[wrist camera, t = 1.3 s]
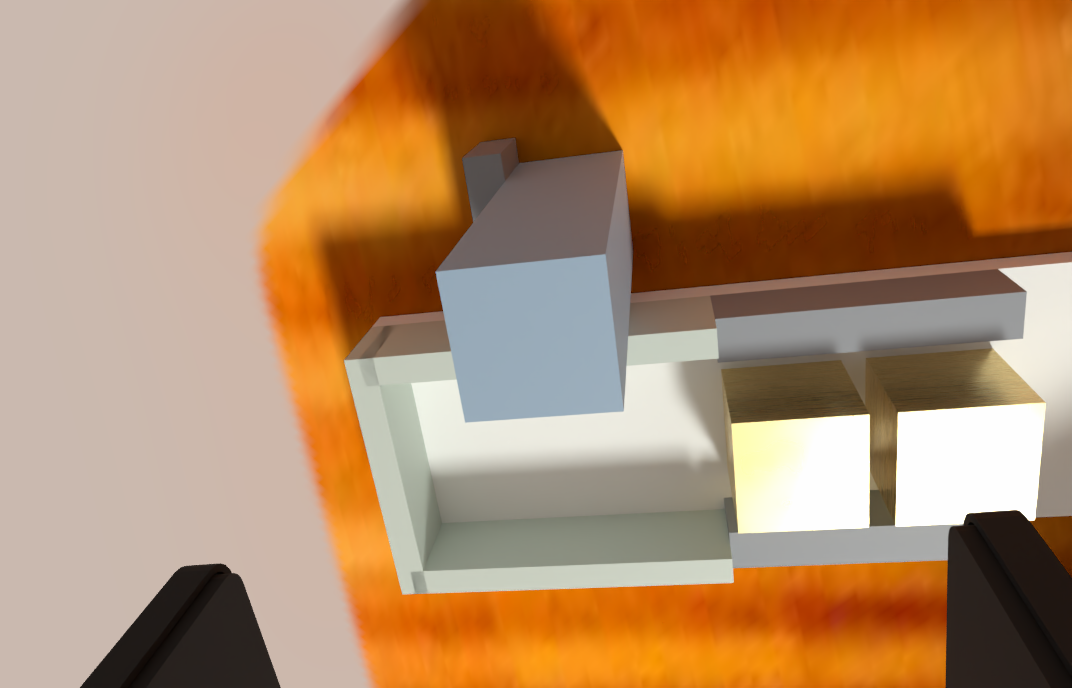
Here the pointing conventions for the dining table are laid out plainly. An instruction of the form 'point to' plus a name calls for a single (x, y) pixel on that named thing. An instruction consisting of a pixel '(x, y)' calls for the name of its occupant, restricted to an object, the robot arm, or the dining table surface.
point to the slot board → (681, 430)
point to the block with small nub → (540, 285)
